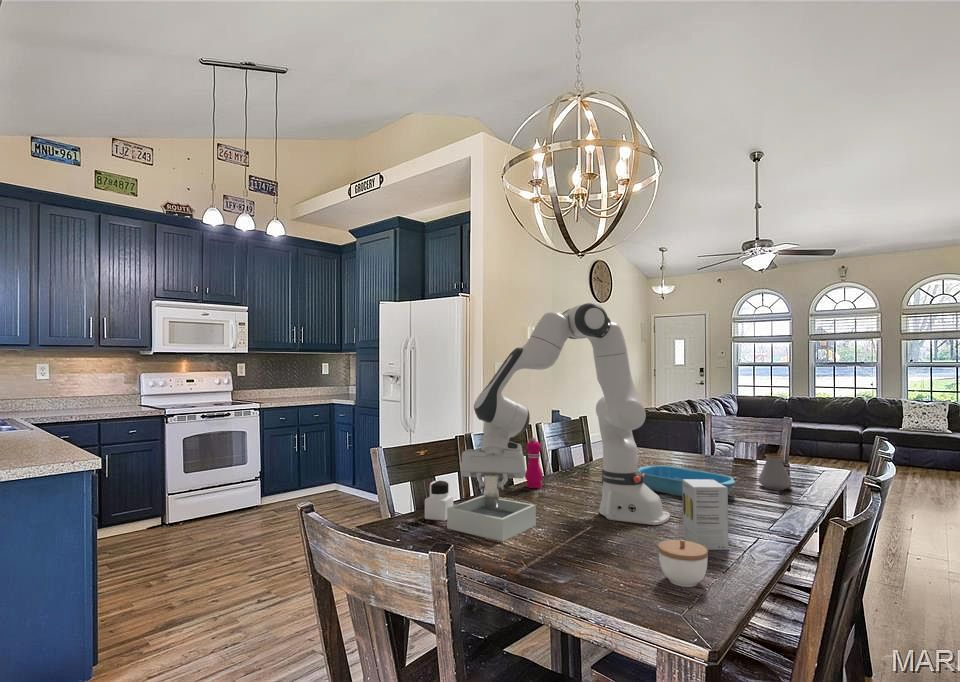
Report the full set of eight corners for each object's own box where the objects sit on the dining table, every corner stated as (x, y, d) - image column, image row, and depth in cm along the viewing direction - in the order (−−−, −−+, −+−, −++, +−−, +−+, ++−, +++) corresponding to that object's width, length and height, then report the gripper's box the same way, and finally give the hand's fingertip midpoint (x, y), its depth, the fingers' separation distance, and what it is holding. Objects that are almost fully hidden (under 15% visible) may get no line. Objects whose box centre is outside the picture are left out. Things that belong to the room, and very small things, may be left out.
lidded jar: (657, 570, 128) (657, 530, 129) (705, 575, 125) (704, 534, 126) (659, 588, 118) (658, 545, 119) (711, 594, 115) (710, 550, 115)
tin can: (501, 505, 160) (501, 475, 160) (493, 508, 157) (493, 477, 157) (489, 503, 163) (489, 473, 163) (481, 506, 159) (481, 476, 160)
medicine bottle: (453, 517, 173) (453, 480, 173) (445, 523, 166) (445, 485, 166) (433, 515, 175) (433, 478, 175) (424, 521, 168) (424, 483, 169)
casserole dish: (745, 495, 199) (745, 476, 200) (720, 506, 184) (719, 486, 184) (655, 479, 226) (654, 462, 227) (626, 488, 211) (626, 470, 211)
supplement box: (682, 538, 151) (681, 478, 152) (714, 538, 151) (713, 478, 152) (694, 550, 142) (693, 486, 142) (729, 550, 141) (728, 486, 142)
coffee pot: (788, 493, 201) (787, 453, 202) (755, 488, 209) (754, 450, 210) (799, 483, 218) (798, 446, 218) (768, 479, 225) (767, 443, 226)
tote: (536, 528, 161) (535, 505, 161) (503, 545, 146) (502, 519, 147) (482, 517, 173) (482, 495, 173) (447, 531, 158) (447, 508, 158)
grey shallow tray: (529, 525, 161) (529, 515, 161) (501, 539, 148) (501, 528, 149) (483, 515, 171) (483, 506, 171) (454, 527, 158) (454, 517, 159)
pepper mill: (542, 489, 209) (541, 438, 210) (524, 488, 210) (523, 438, 211) (543, 485, 216) (543, 436, 217) (526, 484, 217) (525, 435, 218)
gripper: (461, 443, 169) (455, 481, 159) (526, 444, 166) (524, 483, 156) (463, 455, 173) (458, 492, 163) (526, 456, 170) (525, 495, 160)
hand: (491, 488), depth 159 cm, fingers closed on tin can, 4 cm apart
